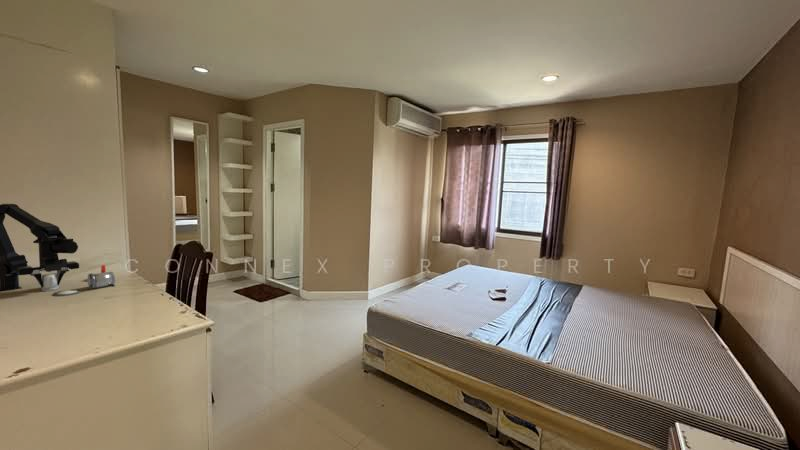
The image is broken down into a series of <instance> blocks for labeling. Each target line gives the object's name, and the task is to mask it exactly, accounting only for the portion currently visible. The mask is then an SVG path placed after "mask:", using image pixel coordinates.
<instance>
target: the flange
mask: <svg viewBox="0 0 800 450" xmlns="http://www.w3.org/2000/svg"><path fill="white" fill-rule="evenodd" d="M82 292H83V290H82V289H81V288H80V289H79V288H76V289H75V288H74V289H66V290H65V289H64V290H59V291H55V292H54V293H52V295H53V296H54V297H64V296H72V295H73V296H74V295H77V294H81V293H82Z"/></svg>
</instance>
